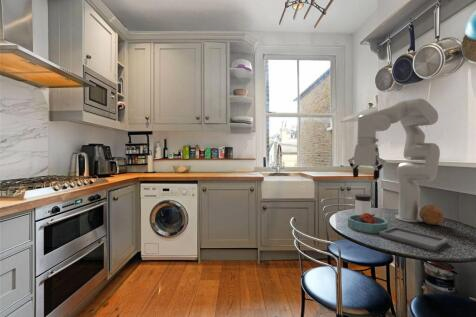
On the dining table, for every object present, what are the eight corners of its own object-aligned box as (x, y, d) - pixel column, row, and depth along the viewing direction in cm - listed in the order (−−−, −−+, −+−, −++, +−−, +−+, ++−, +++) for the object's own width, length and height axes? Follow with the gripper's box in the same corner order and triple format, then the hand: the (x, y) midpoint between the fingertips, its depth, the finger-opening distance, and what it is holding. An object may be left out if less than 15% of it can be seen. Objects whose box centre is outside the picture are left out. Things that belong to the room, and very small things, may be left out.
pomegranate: (366, 234, 118) (383, 222, 117) (356, 222, 119) (373, 209, 118) (360, 231, 125) (377, 219, 125) (351, 219, 126) (367, 207, 126)
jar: (374, 216, 141) (374, 196, 141) (365, 218, 137) (366, 197, 137) (360, 213, 149) (360, 193, 149) (351, 215, 145) (351, 194, 145)
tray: (394, 230, 117) (394, 226, 117) (447, 243, 100) (447, 239, 100) (379, 236, 109) (379, 231, 109) (434, 251, 92) (434, 246, 92)
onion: (448, 226, 123) (449, 206, 123) (434, 228, 120) (434, 208, 120) (428, 220, 132) (428, 202, 132) (414, 222, 129) (415, 203, 129)
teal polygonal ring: (360, 220, 134) (360, 213, 133) (393, 228, 119) (393, 220, 119) (341, 225, 124) (341, 217, 124) (375, 235, 110) (375, 226, 110)
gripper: (389, 141, 110) (389, 179, 110) (353, 142, 124) (352, 176, 125) (381, 140, 106) (380, 180, 106) (344, 141, 120) (344, 176, 120)
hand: (365, 178), depth 115 cm, fingers open, 9 cm apart
